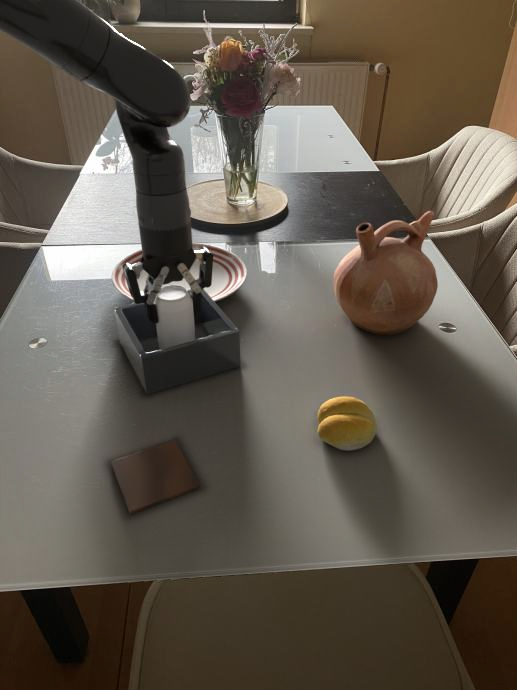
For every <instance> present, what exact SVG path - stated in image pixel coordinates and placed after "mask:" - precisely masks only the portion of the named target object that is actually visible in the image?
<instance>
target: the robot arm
mask: <svg viewBox="0 0 517 690" xmlns="http://www.w3.org/2000/svg"><path fill="white" fill-rule="evenodd" d="M0 31H1V32H2V33H4V34H6V35H7V36H9V37H11V38H12V39H13V40H15V41H17V42H19V43H20V44H21V45H23V46H25V47H26V48H28V49H30V50H31V51H33V52H34V53H36V54H37V55H39V56H40V57H42V58H43V59H44V60H46V61H47V62H49V63H51V64H52V65H54V66H55V67H57V68H58V69H59V70H61V71H62V72H65V73H66V74H68V75H69V76H71V78H73V79H75V80H77V81H78V82H80V83H82V84H83V85H85V86H87V87H89V88H92V89H94V90H97V91H100V92H102V93H105V94H107V95H109V96H111V97H112V98H113V100H114V105H115V106H114V107H115V112H116V115H117V118H118V121H119V125H120V127H121V131H122V133H123V137H124V140H125V143H126V145H127V147H128V151H129V154H130V155H131V161H132V172H133V179H134V185H135V207H136V215H137V225H138V230H139V238H140V239H139V240H140V245H141V249H142V258H141V261H140V262H138V263H135V264H132V265H130V264H129V263H125V264H124V265H123V271H124V274H125V278H126V281H127V285H128V288H129V292H130V295H131V297H132V298H133V299H134V300H133V303H136V304H140V303H144V305H145V312H146V316H147V317H148V319H149V321H152V322H153V324H155V323H158V316H157V308H156V303H155V302H154V301H155V298H156V296H157V293H159V292H160V290H161V287H162V285H165V284H169V283H171V282H173V281H176V282H178V281H182V279H183V278H184V279H185V280H186V282H187V283H188V285H189V286H190V289H188V290H189V295H190V297H191V298H192V300H193V312H194V313H198V312H199V310H198V309H201V290H202V289H203V288H205V287H207V288H208V287H210V286H211V284H212V269H213V254H212V253H211V252H210V251H209V250H208V249H207V248H206V247H202V248H201V250H197V251H194V250H193V248H192V243H193V234H192V233H193V232H192V219H191V217H192V210H191V206H190V198H189V193H188V188H187V176H186V163H185V162H186V161H185V156H184V151H183V148H182V147H181V146H180V145H179V144H178V143H177V142H176V141H175V140H174V139H173V138H172V137H171V136H170V133H169V130H168V128H172V127H176V126H178V125H179V124H180V123H182V122H183V121H184V120H185V119H186V117H187V116H188V114H189V112H190V110H191V103H192V99H191V97H192V96H191V92H190V88H189V85H188V83H187V82H186V80H185V78H184V77H183V75H182V74H181V73H180V72H179V71H178V70H177V69H176V68H175V67H174V66H172V65H171V64H170V63H168V62H167V61H165V60H163V59H162V58H161V57H159V56H157V55H156V54H154V53H152V52H151V51H149V50H148V49H146V48H144V47H143V46H141V45H140V44H138V43H136V42H134V41H132V40H130V39H128V38H127V37H125V36H124V35H123V34H122V33H119V32H118V31H117V30H116V29H115V28H114V27H113V26H111V25H110V24H109V23H108V22H107V21H106V20H104V19H103V18H101V16H99V15H98V14H96V12H94V11H93V10H92V9H90V8H89V7H87V5H85V4H84V3H83V2H81V1H80V0H0ZM196 259H197V261H198V262H199V263H200V268H199V278H198V279H197V280H195V279H194V277H193V276H192V274H191V273H190V272H189V270H190V268H191V267H192V265H193V263H194V261H195V260H196ZM142 270H145V271H146V272H147V273H148V276H147V279H146V285H145V288H144V290H143V292H140V289H139V285H138V281H137V279H139V277H140V272H141V271H142Z"/></svg>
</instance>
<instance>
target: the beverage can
mask: <svg viewBox="0 0 517 690" xmlns="http://www.w3.org/2000/svg"><path fill="white" fill-rule="evenodd" d="M154 302H155V303H156V308H157V316H158V323H156V328H157V335H156V337H157V343H158V350H160V349H164V348H167V347H171V346H175V345H178V344H182V343H186V342H189V341H193V340H197V338H196V328H195V326H196V325H194V312H193V300H192V298H191V297H190V295H189V294H188V290H187V289H186V288H185V287H183V286H179V285H168V286H165V287H162V288H161V290H160V292H159V293H157V296H156V298H155V301H154Z"/></svg>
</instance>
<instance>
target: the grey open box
mask: <svg viewBox="0 0 517 690" xmlns="http://www.w3.org/2000/svg"><path fill="white" fill-rule="evenodd" d="M188 294H189V290H188ZM198 310H199V312H198V313H194V325H195V326H198V325H202V327H203V328H204V329H205V330H206V332H207V333H208V334H209V335H208V336H205V337H201V338H196V340H193V341H189V342H186V343H182V344H178V345H175V346H171V347H167V348H164V349H160V350H159V349H155V350H153V351H150V352H146V351H145V349H144V347H143V345H142V344H141V342H140V340H144V339H147V338H152V337H155V336H157V328H156V323H155V324H153V322H152V321H149V319H148V317H147V316H146V312H145V305H144V303H140V304H136V303H135V302H133V303H129V304H124V305H120V306H116V307H114V308H113V312H114V316H115V323H116V328H117V333H118V335H117V336H118V340H119V343H120V345H121V347H122V349H123V351H124V353H125V355H126V357H127V359H128V361H129V362H130V364H131V366H132V369H133V371H134V372H135V375H136V376H137V378H138V380H139V382H140V384H141V386H142V388H143V390H144V392H145V394H146V395H150V394H151V395H152V394H155V393H156V392H157V393H158V392H160V391H163V390H166V389H170V388H173V387H177V386H181V385H184V384H187V383H190V382H194V381H196V380H200V379H203V378H207V377H210V376H214V375H216V374H220V373H223V372H227V371H230V370H233V369H237V368H240V367H241V331H240V330H239V328H238V327H237V326H236V324H234V322H233V321H232V320H231V319H230V318H229V317H228V315H227V314H226V313H225V312H224V311H223V310H222V309H221V307H220V306H219V305H218V304H217V303H216V302H214V301H213V299H212V298H211V297H210V296H209V295H208V294H207V292H206V291H205V290H204V289H202V290H201V309H198Z"/></svg>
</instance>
